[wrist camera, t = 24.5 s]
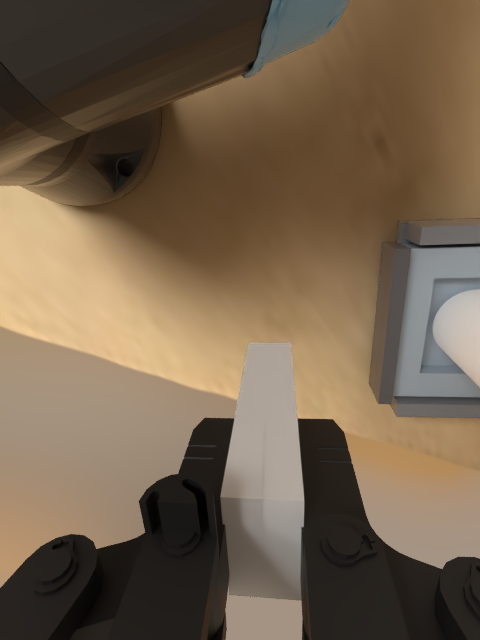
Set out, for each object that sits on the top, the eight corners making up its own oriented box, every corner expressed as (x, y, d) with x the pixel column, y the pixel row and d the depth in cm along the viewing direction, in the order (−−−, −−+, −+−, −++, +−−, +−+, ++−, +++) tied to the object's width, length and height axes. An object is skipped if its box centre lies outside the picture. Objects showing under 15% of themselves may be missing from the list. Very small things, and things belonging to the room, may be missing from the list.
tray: (368, 383, 36) (378, 403, 33) (382, 242, 31) (395, 249, 27) (528, 384, 34) (555, 406, 31) (571, 235, 29) (609, 242, 26)
